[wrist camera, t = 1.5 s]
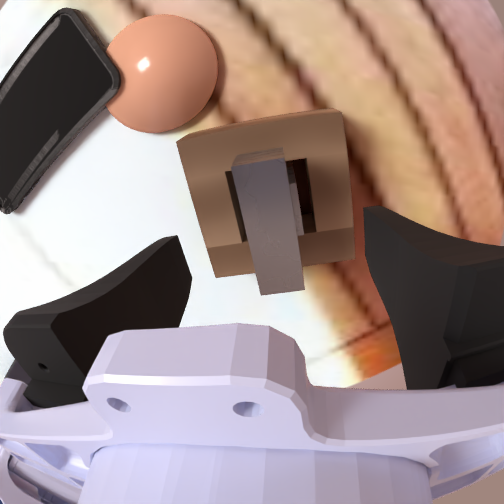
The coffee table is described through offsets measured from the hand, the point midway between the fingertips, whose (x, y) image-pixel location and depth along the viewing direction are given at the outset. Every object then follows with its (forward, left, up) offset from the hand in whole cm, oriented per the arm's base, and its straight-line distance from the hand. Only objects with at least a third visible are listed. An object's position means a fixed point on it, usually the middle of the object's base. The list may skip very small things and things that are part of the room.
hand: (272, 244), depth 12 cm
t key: (0, 0, -7) cm, 7 cm away
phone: (+9, +15, -8) cm, 19 cm away
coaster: (+8, +5, -7) cm, 12 cm away
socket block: (0, 0, -7) cm, 7 cm away
